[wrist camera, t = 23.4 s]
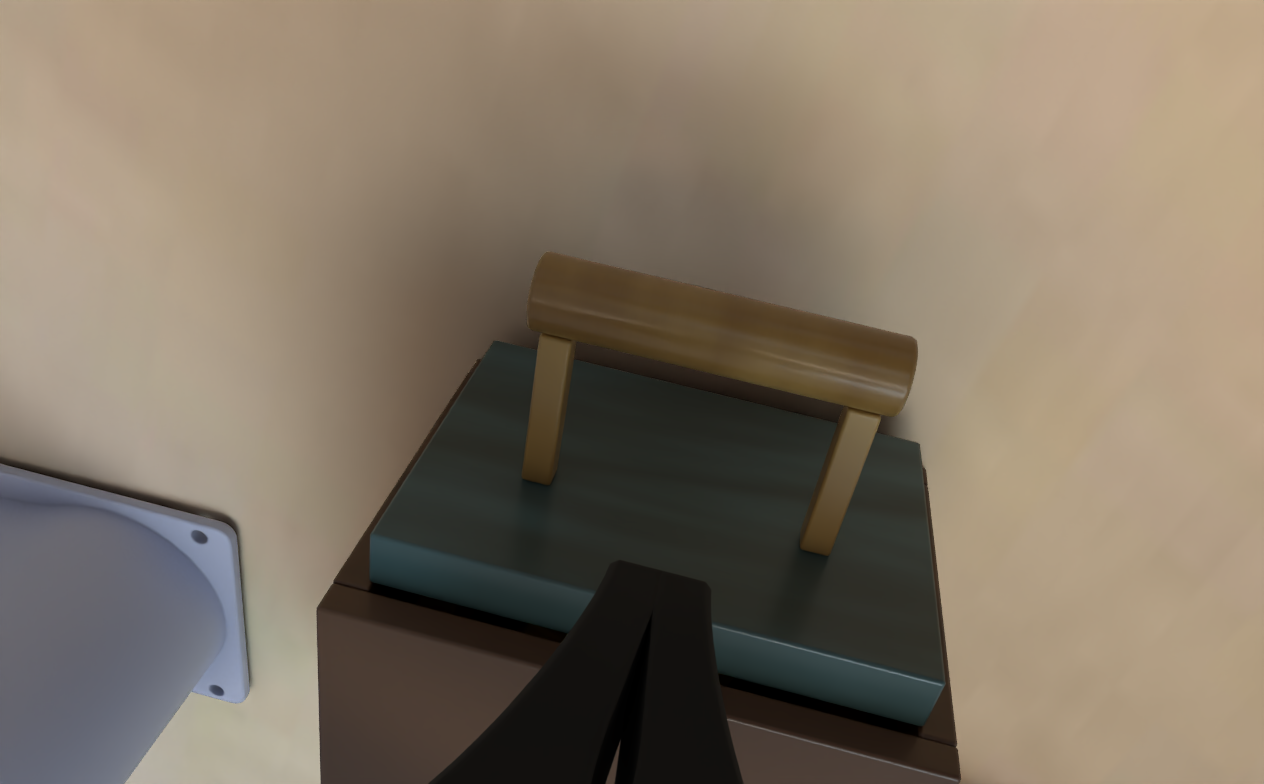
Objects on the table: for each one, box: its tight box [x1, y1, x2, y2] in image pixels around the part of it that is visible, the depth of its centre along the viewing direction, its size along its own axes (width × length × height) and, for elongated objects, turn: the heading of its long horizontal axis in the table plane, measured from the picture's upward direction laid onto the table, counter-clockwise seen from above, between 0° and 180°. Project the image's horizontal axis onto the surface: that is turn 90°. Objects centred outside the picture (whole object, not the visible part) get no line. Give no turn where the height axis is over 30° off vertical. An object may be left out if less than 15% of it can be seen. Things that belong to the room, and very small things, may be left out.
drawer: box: [369, 252, 946, 726], centre depth 22 cm, size 17×10×7 cm, turn 171°
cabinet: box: [317, 359, 961, 784], centre depth 24 cm, size 13×11×9 cm
